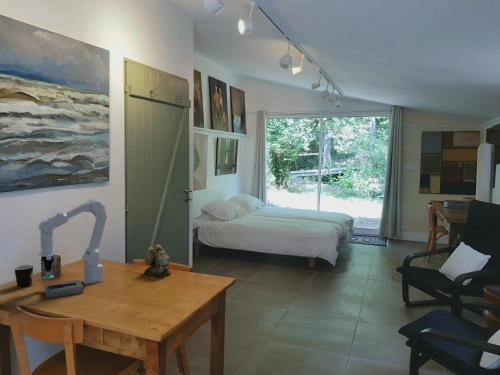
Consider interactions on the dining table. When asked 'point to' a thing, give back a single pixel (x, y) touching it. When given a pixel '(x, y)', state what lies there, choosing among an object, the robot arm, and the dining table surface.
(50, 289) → the keyhole plate
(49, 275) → the peg
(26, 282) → the coffee mug
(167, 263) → the grey lumpy cluster
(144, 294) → the dining table surface
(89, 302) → the dining table surface
